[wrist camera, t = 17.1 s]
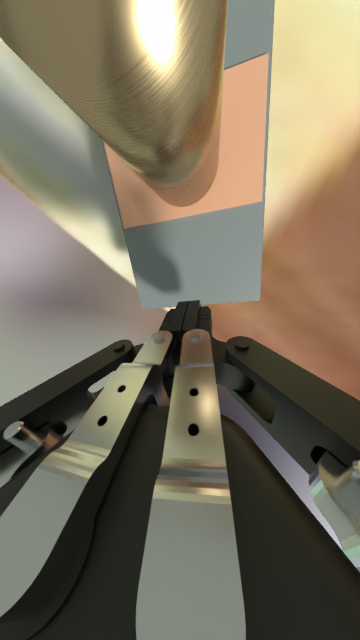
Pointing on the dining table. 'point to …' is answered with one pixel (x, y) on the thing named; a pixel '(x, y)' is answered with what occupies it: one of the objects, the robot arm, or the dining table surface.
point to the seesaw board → (222, 198)
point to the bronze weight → (134, 79)
